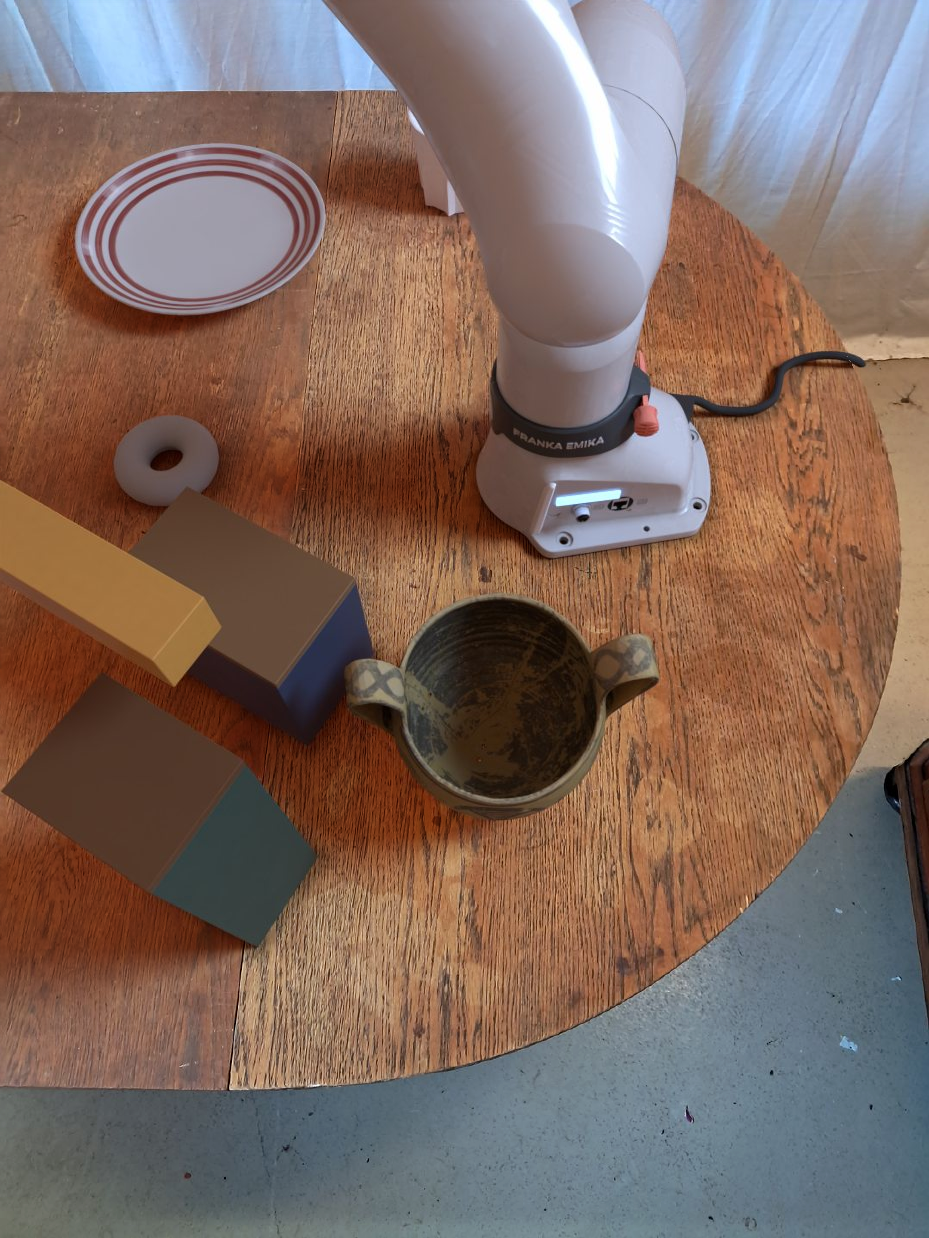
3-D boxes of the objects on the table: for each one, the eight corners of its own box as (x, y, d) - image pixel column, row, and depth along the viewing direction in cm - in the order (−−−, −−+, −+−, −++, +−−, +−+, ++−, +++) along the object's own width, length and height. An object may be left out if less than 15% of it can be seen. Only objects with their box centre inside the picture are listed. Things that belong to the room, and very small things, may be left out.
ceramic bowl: (611, 637, 80) (640, 551, 66) (645, 827, 72) (684, 775, 59) (361, 658, 79) (337, 575, 65) (368, 852, 71) (344, 804, 58)
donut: (106, 505, 86) (204, 521, 85) (91, 484, 83) (193, 500, 82) (142, 423, 91) (236, 437, 89) (130, 400, 88) (227, 415, 86)
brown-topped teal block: (156, 878, 71) (0, 790, 47) (219, 793, 74) (101, 671, 50) (257, 947, 68) (146, 891, 45) (318, 856, 71) (243, 759, 48)
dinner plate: (113, 160, 108) (103, 135, 105) (340, 164, 107) (336, 139, 104) (59, 333, 96) (46, 310, 93) (314, 339, 95) (309, 316, 92)
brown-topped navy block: (160, 657, 79) (101, 582, 66) (230, 572, 83) (186, 485, 70) (308, 746, 75) (275, 685, 63) (374, 653, 79) (355, 577, 66)
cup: (407, 168, 107) (402, 88, 98) (490, 157, 107) (491, 76, 99) (421, 226, 102) (416, 147, 94) (507, 215, 103) (510, 135, 94)
